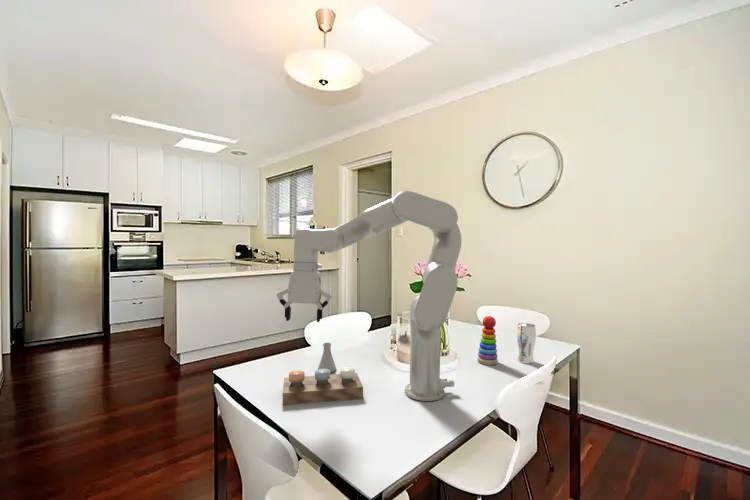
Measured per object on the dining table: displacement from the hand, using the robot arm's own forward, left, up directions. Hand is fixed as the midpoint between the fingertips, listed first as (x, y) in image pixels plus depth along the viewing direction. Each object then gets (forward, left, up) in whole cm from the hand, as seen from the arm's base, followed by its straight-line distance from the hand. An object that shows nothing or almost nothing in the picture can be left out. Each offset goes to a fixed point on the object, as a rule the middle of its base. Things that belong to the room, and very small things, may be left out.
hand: (303, 320), depth 115 cm
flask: (-9, -17, -23) cm, 30 cm away
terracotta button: (+2, +3, -21) cm, 22 cm away
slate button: (-6, +3, -21) cm, 22 cm away
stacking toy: (-73, -14, -23) cm, 78 cm away
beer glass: (-89, -12, -23) cm, 93 cm away
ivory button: (-14, +3, -21) cm, 26 cm away
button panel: (-6, +3, -23) cm, 24 cm away
